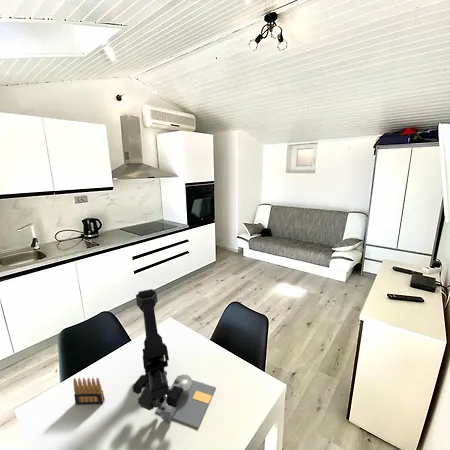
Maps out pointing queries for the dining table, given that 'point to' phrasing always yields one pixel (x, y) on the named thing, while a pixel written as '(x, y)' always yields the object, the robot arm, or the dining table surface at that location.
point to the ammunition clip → (88, 392)
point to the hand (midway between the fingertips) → (159, 407)
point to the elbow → (169, 411)
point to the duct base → (193, 404)
